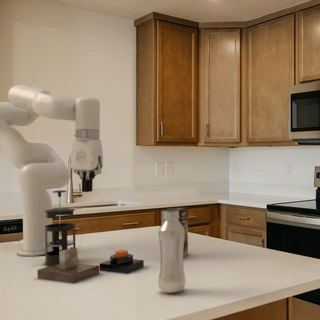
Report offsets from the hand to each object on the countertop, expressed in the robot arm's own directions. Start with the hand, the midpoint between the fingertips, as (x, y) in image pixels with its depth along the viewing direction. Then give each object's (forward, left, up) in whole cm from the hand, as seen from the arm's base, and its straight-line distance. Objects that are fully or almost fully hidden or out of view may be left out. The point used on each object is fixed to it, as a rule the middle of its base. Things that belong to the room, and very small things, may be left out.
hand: (87, 191), depth 148 cm
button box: (+19, -7, -22) cm, 30 cm away
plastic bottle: (+45, -21, -23) cm, 54 cm away
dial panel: (+10, -19, -22) cm, 31 cm away
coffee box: (+26, +12, -23) cm, 36 cm away
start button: (+19, -7, -19) cm, 27 cm away
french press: (-5, -7, -23) cm, 24 cm away
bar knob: (+10, -19, -20) cm, 29 cm away
